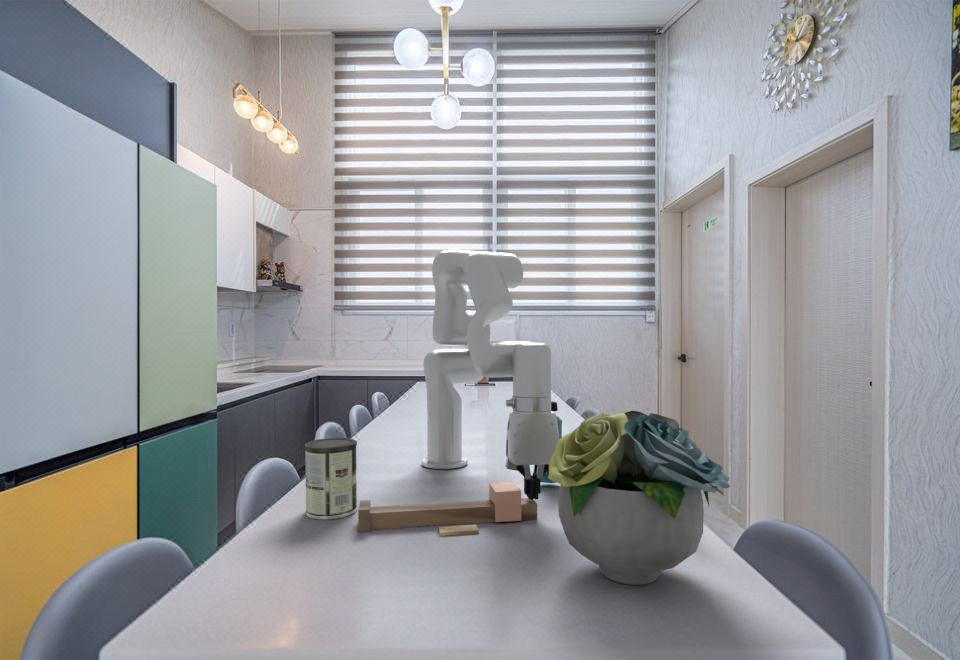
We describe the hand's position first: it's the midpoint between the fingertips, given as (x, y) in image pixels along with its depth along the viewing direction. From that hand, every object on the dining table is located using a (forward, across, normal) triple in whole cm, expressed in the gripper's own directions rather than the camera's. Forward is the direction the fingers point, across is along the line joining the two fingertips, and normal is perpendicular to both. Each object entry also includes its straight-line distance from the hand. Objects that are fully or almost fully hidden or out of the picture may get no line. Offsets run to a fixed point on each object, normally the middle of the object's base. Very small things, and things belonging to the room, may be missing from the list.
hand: (532, 497), depth 111 cm
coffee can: (+4, -40, +10) cm, 41 cm away
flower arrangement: (+4, +7, -28) cm, 29 cm away
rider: (+4, -6, 0) cm, 7 cm away
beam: (+4, -16, 0) cm, 16 cm away
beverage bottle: (+4, +10, +20) cm, 22 cm away
